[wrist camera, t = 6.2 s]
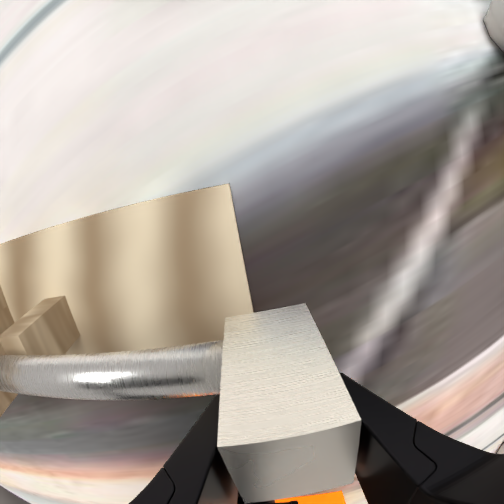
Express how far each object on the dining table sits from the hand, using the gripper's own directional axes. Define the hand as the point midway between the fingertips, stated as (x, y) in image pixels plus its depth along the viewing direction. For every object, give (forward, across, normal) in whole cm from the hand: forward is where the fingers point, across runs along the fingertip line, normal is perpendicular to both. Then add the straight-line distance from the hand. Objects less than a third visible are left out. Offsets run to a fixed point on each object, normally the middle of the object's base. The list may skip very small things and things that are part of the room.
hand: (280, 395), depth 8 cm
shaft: (+3, +9, 0) cm, 9 cm away
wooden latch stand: (+10, +15, 0) cm, 18 cm away
